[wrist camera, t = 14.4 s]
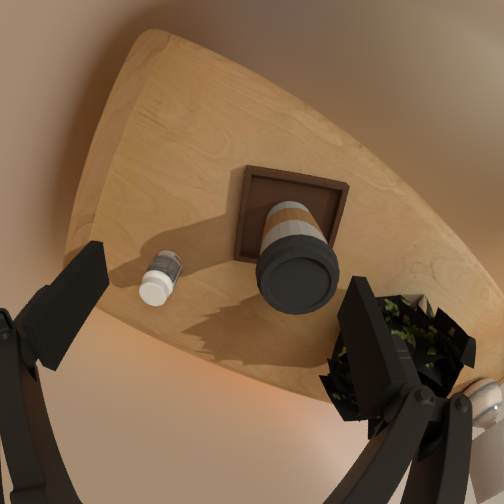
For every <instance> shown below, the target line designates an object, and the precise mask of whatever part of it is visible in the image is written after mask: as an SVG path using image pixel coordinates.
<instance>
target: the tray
mask: <svg viewBox="0 0 504 504" xmlns="http://www.w3.org/2000/svg"><path fill="white" fill-rule="evenodd" d="M349 187H350V186H349V185H348V184H347V183H345V182H340V181H336V180H331V179H326V178H321V177H316V176H311V175H305V174H300V173H294V172H289V171H283V170H277V169H270V168H264V167H257V166H251V165H247V166H246V172H245V179H244V186H243V193H242V201H241V208H240V215H239V223H238V230H237V238H236V246H235V253H234V260H235V261H241V262H248V263H255V264H257V261H258V259H259V257H260V249H261V243H262V237H263V232H264V227H265V223H266V218H267V215H268V213H269V211H270V210H271V209H272V208H273V207H274V206H276V205H277V204H279V203H282V202H285V201H293V202H298V203H300V204H302V205H304V206H305V207H306V208H307V209H308V211H309V212H310V214H311V215H312V216H313V218H314V219H315V221H316V223H317V225H318V226H319V228H320V230H321V232H322V233H323V235H324V237H325V239H326V240H327V243H328V245H329V246H330V247H331V248H333V245H334V242H335V238H336V235H337V231H338V228H339V224H340V221H341V217H342V213H343V210H344V206H345V202H346V199H347V195H348V191H349Z"/></svg>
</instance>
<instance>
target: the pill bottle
mask: <svg viewBox="0 0 504 504" xmlns="http://www.w3.org/2000/svg"><path fill="white" fill-rule="evenodd" d="M181 271H182V261H181V259H180V257H179V256H178V255H177V254H175V253H174V252H171V251H167V250H164V251H161V252H159V253H158V254H157V255H156V256H155V258H154V259H153V261H152V262H151V264H150V266H149V267H148V269H147V271H146V272H145V274H144V276H143V278H142V285H141V286H140V289H139V294H140V296H141V298H142V299H143V301H145V302H146V303H147V304H149V305H152V306H160V305H163V304H164V303H165V301H166V299H167V298H168V296H169V295H170V294H171V293H172V291H173V289H174V286H175V284H176V282H177V279H178V277H179V275H180V273H181Z"/></svg>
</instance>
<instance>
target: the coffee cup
mask: <svg viewBox="0 0 504 504" xmlns="http://www.w3.org/2000/svg"><path fill="white" fill-rule="evenodd" d="M339 272H340V271H339V267H338V261H337V257H336V255H335V253H334V251H333V250H332V248H331V247H330V246H329V245H328V243H327V240H326V239H325V237H324V235H323V233H322V232H321V230H320V228H319V226H318V225H317V223H316V221H315V219H314V218H313V216H312V215H311V214H310V212H309V211H308V209H307V208H306V207H305V206H304V205H302V204H300V203H298V202H293V201H285V202H282V203H279V204H277V205H276V206H274V207H273V208H272V209H271V210H270V211H269V213H268V215H267V218H266V223H265V227H264V232H263V237H262V243H261V249H260V257H259V259H258V261H257V265H256V279H257V286H258V288H259V290H260V293H261V294H262V296H263V297H264V299H265V300H266V301H267V303H268V304H269V305H270V306H271V307H273V308H274V309H276V310H278V311H280V312H283V313H286V314H293V315H299V314H307V313H310V312H314V311H316V310H318V309H320V308H321V307H323V306H324V305H325V304H326V303H328V302H329V301H330V299H331V298H332V297H333V295H334V293H335V291H336V288H337V284H338V281H339Z"/></svg>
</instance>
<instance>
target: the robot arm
mask: <svg viewBox="0 0 504 504" xmlns="http://www.w3.org/2000/svg"><path fill="white" fill-rule="evenodd" d="M108 285H109V278H108V273H107V267H106V261H105V254H104V248H103V242H98V241H90V242H89V243H88V244H87V245H86V246H85V247H84V248H83V249H82V250H81V252H80V253H79V254H78V255H77V256H76V257H75V258H74V259H73V260H72V261H71V262H70V263H69V264H68V265H67V267H66V268H65V269H64V270H63V271H62V272H61V273H60V274H59V276H58V277H57V278H56V279H55V280H54V281H53V282H52V283H51V285H45V286H44V287H42V288H41V289H40V290H38V291H37V292H36V293H35V295H34V296H33V298H31V300H30V301H29V302H28V304H26V305H25V307H24V308H23V309H22V310H21V312H20V313H19V314H18V315H17V317H16V318H15V319H14V321H12V319H11V316H10V314H9V312H8V311H7V310H6V309H4V308H0V435H1V440H2V445H3V449H4V454H5V458H6V462H7V465H8V469H9V473H10V476H11V480H12V483H13V491H12V492H11V493H10V501H11V504H83V503H82V502H81V501H80V499H79V498H78V496H77V494H76V491H75V489H74V487H73V485H72V483H71V480H70V478H69V475H68V473H67V471H66V468H65V465H64V463H63V461H62V458H61V455H60V452H59V450H58V446H57V443H56V440H55V437H54V434H53V431H52V428H51V424H50V421H49V417H48V413H47V409H46V405H45V401H44V397H43V393H42V388H41V383H40V378H39V373H38V368H37V366H36V361H37V359H38V358H39V360H40V362H41V363H42V365H43V366H44V367H46V368H49V369H51V370H54V371H56V369H57V368H58V366H59V364H60V362H61V360H62V359H63V357H64V355H65V353H66V352H67V350H68V348H69V347H70V345H71V343H72V342H73V340H74V338H75V337H76V335H77V333H78V332H79V330H80V328H81V327H82V325H83V324H84V322H85V320H86V319H87V317H88V316H89V314H90V312H91V311H92V309H93V308H94V306H95V305H96V303H97V302H98V300H99V299H100V297H101V296H102V294H103V293H104V291H105V290H106V288H107V287H108ZM337 317H338V321H339V324H340V328H341V332H342V336H343V340H344V344H345V348H346V353H347V357H348V361H349V365H350V370H351V374H352V379H353V383H354V388H355V392H356V397H357V402H358V407H359V412H360V417H361V419H368V418H377V417H378V416H379V415H380V414H381V412H382V411H383V413H384V417H385V418H384V419H383V420H382V421H381V422H380V423H379V424H378V425H377V426H376V427H375V428H374V430H376V429H377V430H376V431H375V433H374V434H373V436H372V438H371V439H370V441H369V443H368V444H367V445H366V447H365V448H364V450H363V451H362V453H361V454H360V456H359V457H358V459H357V460H356V462H355V463H354V464H353V466H352V467H351V469H350V470H349V471H348V473H347V474H346V475H345V477H344V478H343V479H342V480H341V482H340V483H339V484H338V486H337V487H336V488H335V489H334V491H333V492H332V493H331V495H329V497H328V498H327V499H326V500H325V501H324V503H323V504H387V503H388V502H389V500H390V498H391V496H392V495H393V493H394V492H395V490H396V488H397V487H398V485H399V483H400V481H401V479H402V477H403V476H404V474H405V472H406V470H407V468H408V466H409V464H410V462H411V460H412V463H411V467H410V471H409V475H408V479H407V482H406V486H405V490H404V493H403V496H402V499H401V503H400V504H464V501H465V495H466V490H467V483H468V475H469V468H470V458H471V446H472V421H473V407H472V403H471V401H470V399H469V398H468V397H467V396H466V395H465V394H463V393H455V394H453V395H452V396H451V398H450V399H446V398H442V397H437V396H435V394H434V393H433V391H432V390H431V389H430V388H429V387H428V386H425V385H422V383H421V381H420V378H419V376H418V373H417V370H416V368H415V365H414V363H413V360H412V359H411V355H410V353H409V352H408V348H407V346H406V343H405V341H404V340H403V339H402V338H401V337H400V336H399V334H390V332H389V329H388V327H387V324H386V322H385V320H384V317H383V315H382V312H381V310H380V308H379V306H378V303H377V301H376V299H375V296H374V294H373V292H372V290H371V288H370V285H369V283H368V281H367V279H366V277H360V276H352V279H351V281H350V284H349V287H348V289H347V292H346V295H345V297H344V300H343V302H342V305H341V307H340V310H339V312H338V315H337ZM0 504H5V502H4V495H3V486H2V476H1V462H0Z"/></svg>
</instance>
